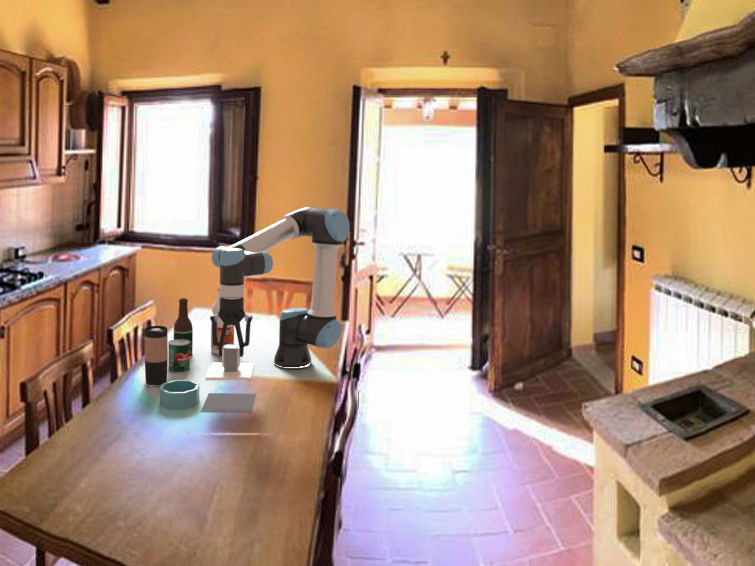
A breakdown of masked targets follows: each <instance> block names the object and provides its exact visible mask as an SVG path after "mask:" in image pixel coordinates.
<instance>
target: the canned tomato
mask: <svg viewBox="0 0 755 566" xmlns="http://www.w3.org/2000/svg"><path fill="white" fill-rule="evenodd" d="M190 370H191V357H190V341H189V340H185V339H175V340H174V339H173V340H169V341H168V366H167V372H170V373H171V374H172V373H173V374H182V373H186V372H189V371H190Z"/></svg>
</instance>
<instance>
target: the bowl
mask: <svg viewBox="0 0 755 566" xmlns="http://www.w3.org/2000/svg"><path fill="white" fill-rule="evenodd" d="M199 401H200V383H198V382H196V381H193V380H192V379H174V380H171V381H167V382H166V383H163V384H162V385H160V387H159V406H161V407H163V408H165V409H167V410H185V409H188V408H191V407H192V408H193V407H195V406H197V405H198V403H199Z"/></svg>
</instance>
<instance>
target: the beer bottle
mask: <svg viewBox="0 0 755 566" xmlns="http://www.w3.org/2000/svg"><path fill="white" fill-rule="evenodd" d="M188 302H189V300H188V298H183V297H182V298H179V299H178V303H179V305H178V315H177V319H176V320H175V322H174V325H173V340H175V339H185V340H189V341H190V358H191V357H192V356H193V336H194V335H193V333H194V332H193V331H194V330H193V325H192V321H191V319H190V317H189V311H188Z"/></svg>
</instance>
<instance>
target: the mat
mask: <svg viewBox="0 0 755 566" xmlns="http://www.w3.org/2000/svg"><path fill="white" fill-rule="evenodd" d="M256 396H257V393H236V392H235V393H229V392H227V393H226V392H221V393H220V392H209V393H208V394H207V396H206V399H205V401H204V404H203V405H202V408H201V410H200V413H223V414H224V413H226V414H227V413H229V414H230V413H232V414H233V413H239V414H240V413H242V414H243V413H245V414H252V413H253V410H254V405H255V400H256V398H257V397H256Z"/></svg>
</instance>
